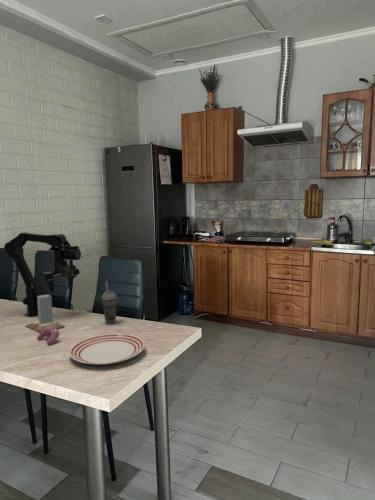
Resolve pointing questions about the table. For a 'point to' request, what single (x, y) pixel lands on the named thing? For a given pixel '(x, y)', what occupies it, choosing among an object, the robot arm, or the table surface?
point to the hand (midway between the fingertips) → (61, 290)
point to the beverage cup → (109, 305)
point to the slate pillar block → (45, 309)
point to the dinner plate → (107, 349)
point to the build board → (44, 325)
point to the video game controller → (49, 334)
